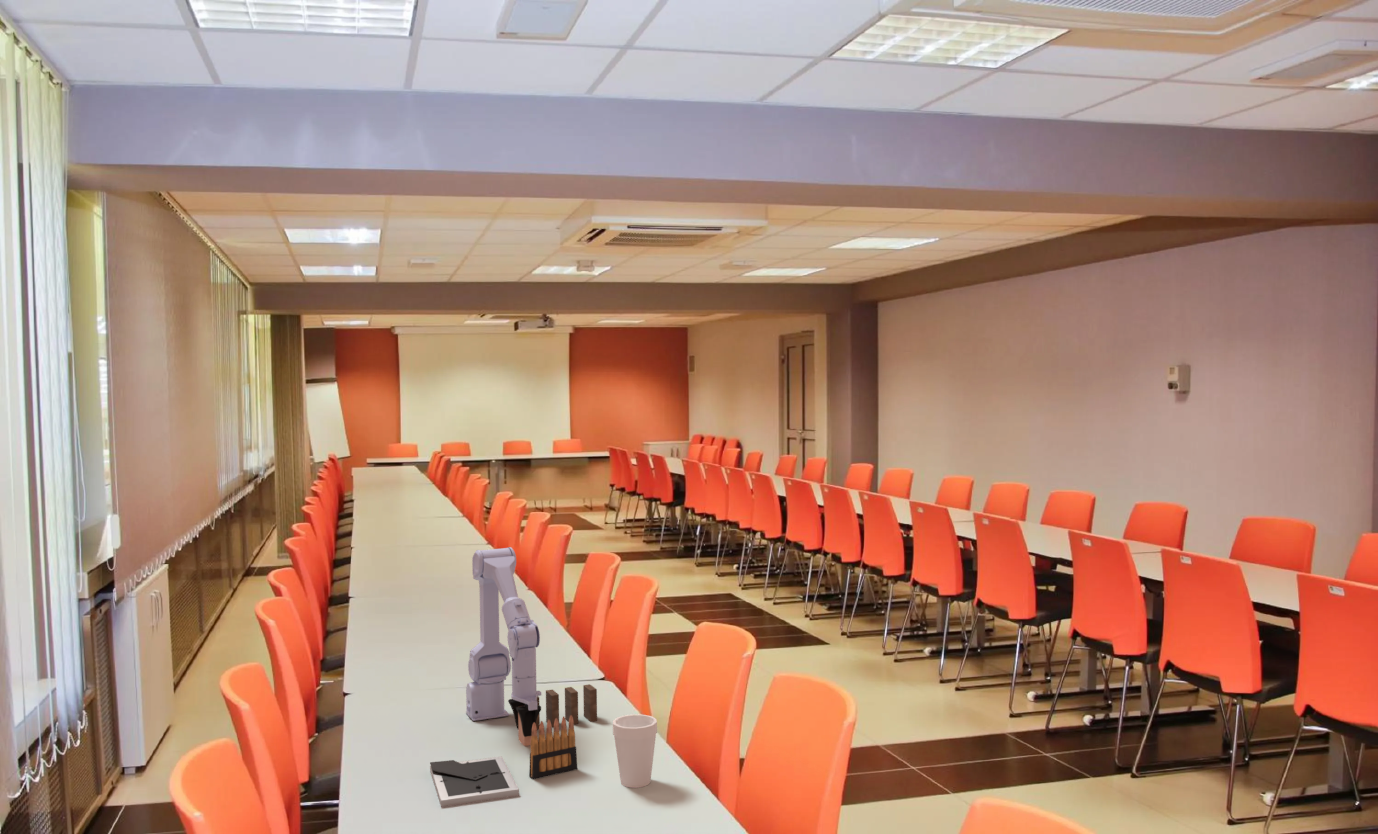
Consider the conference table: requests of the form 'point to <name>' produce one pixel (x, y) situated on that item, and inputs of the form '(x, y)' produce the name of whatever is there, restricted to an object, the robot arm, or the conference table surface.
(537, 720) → the brown rectangular block
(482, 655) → the robot arm
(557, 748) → the ammunition clip
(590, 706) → the brown flat block
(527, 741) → the tile
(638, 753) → the foam cup
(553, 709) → the tile
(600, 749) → the conference table surface
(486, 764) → the picture frame
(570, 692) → the tile
